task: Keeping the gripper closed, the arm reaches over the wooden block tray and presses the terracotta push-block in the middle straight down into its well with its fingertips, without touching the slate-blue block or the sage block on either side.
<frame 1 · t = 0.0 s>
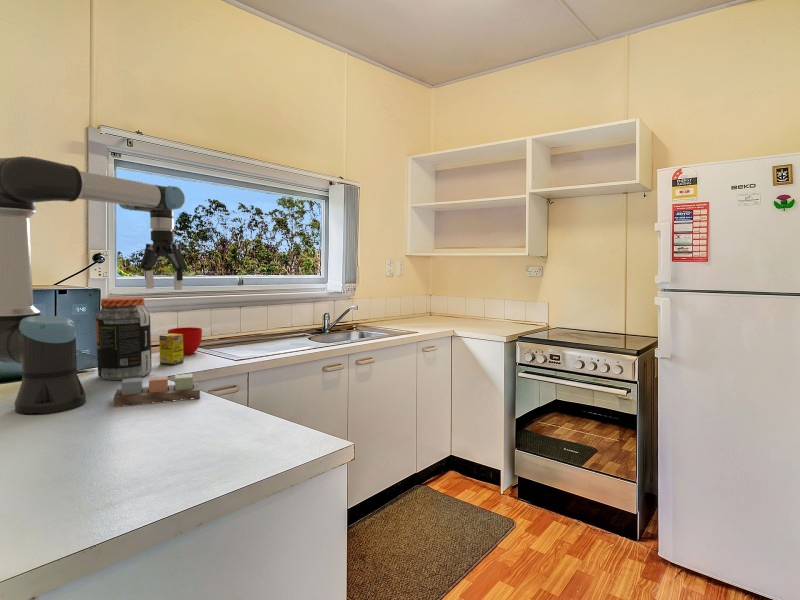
hand: (163, 289, 176), 28 cm above the worktop, fingers open, 13 cm apart
supplement box: (171, 364, 181), on the worktop
sage block: (183, 382, 138), point 4 cm above the worktop, slide at 0.0 cm
ceramic cup: (182, 354, 199), on the worktop
terracotta block: (158, 384, 136), point 4 cm above the worktop, slide at 0.0 cm
supplement tub: (125, 376, 162), on the worktop
slate block: (132, 386, 133), point 4 cm above the worktop, slide at 0.0 cm
wooden block tray: (158, 398, 136), on the worktop
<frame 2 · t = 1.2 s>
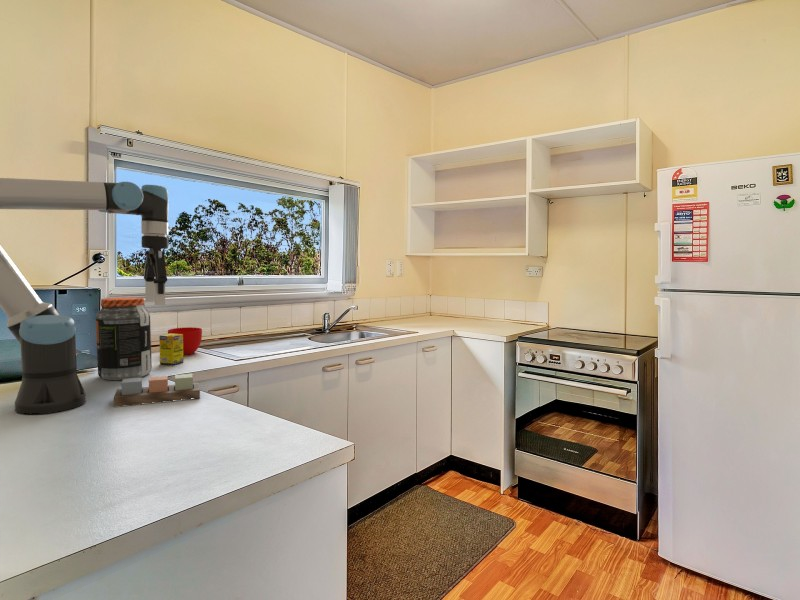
hand: (154, 303, 153), 25 cm above the worktop, fingers open, 13 cm apart
nothing on the worktop moved.
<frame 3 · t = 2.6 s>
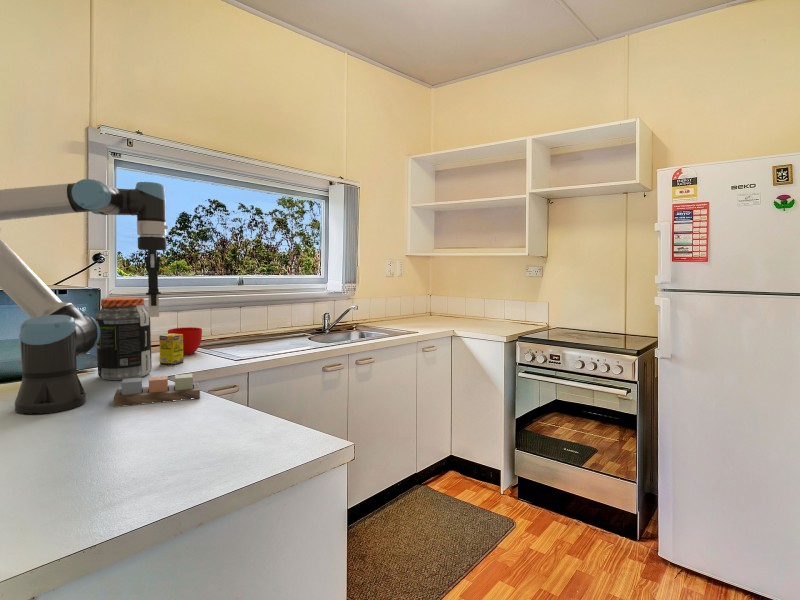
hand: (154, 316, 144), 22 cm above the worktop, fingers closed
nothing on the worktop moved.
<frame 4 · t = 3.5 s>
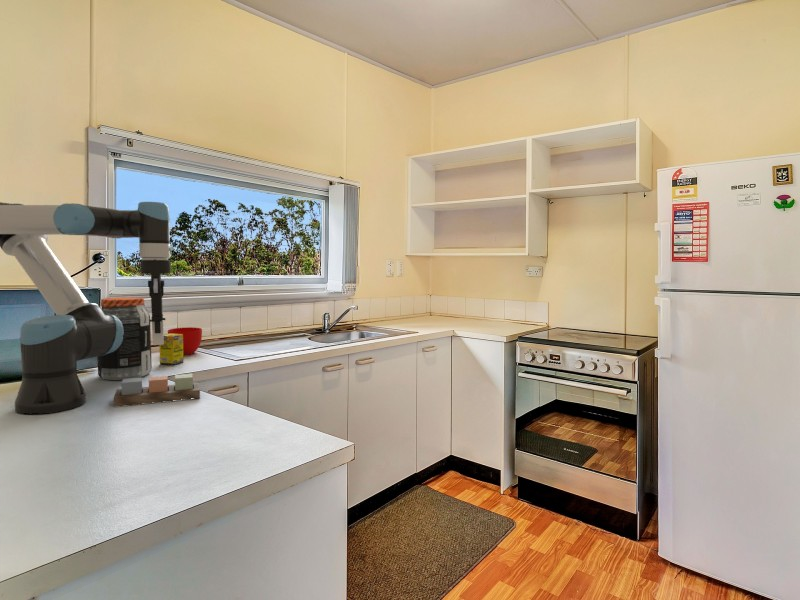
hand: (158, 344, 135), 15 cm above the worktop, fingers closed
nothing on the worktop moved.
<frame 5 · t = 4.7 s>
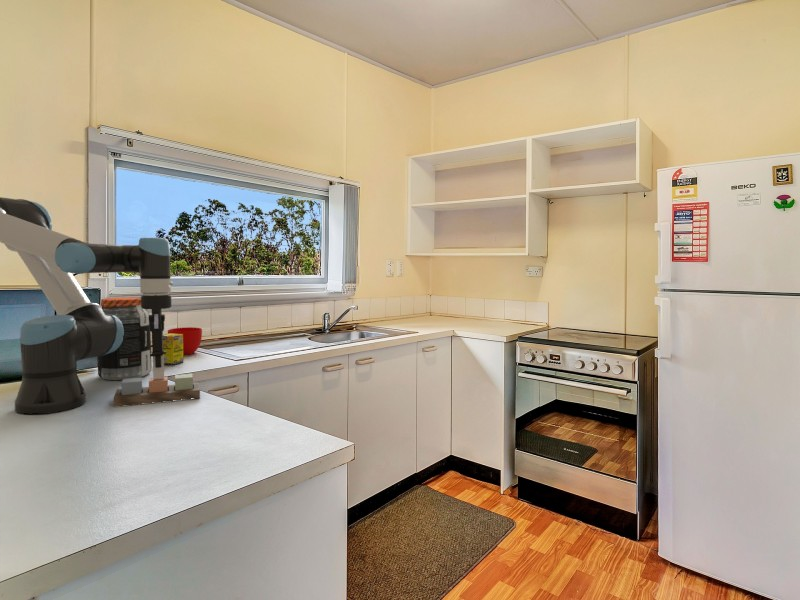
hand: (158, 378, 135), 6 cm above the worktop, fingers closed
terracotta block: (158, 385, 136), point 4 cm above the worktop, slide at 0.3 cm, touching gripper
everything else where it was.
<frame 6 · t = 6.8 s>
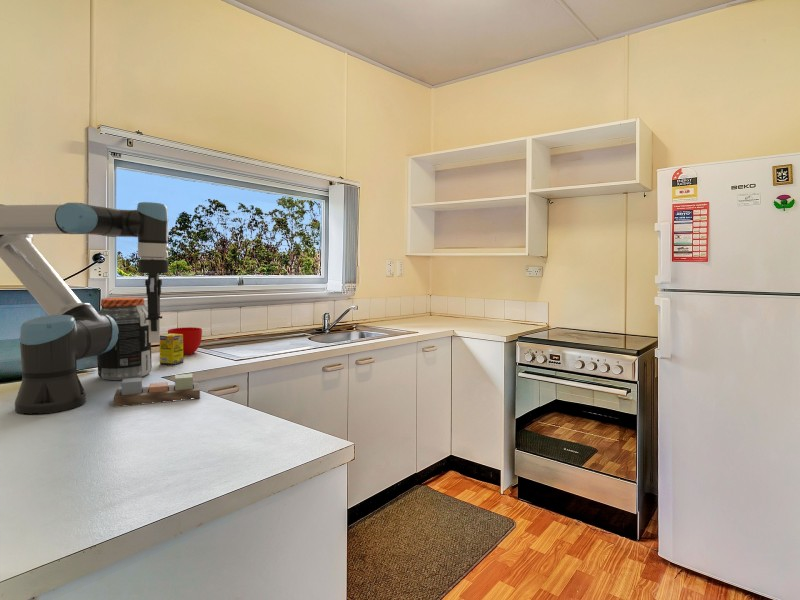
hand: (154, 342, 138), 15 cm above the worktop, fingers closed
terracotta block: (158, 390, 136), point 2 cm above the worktop, slide at 1.9 cm
everything else where it was.
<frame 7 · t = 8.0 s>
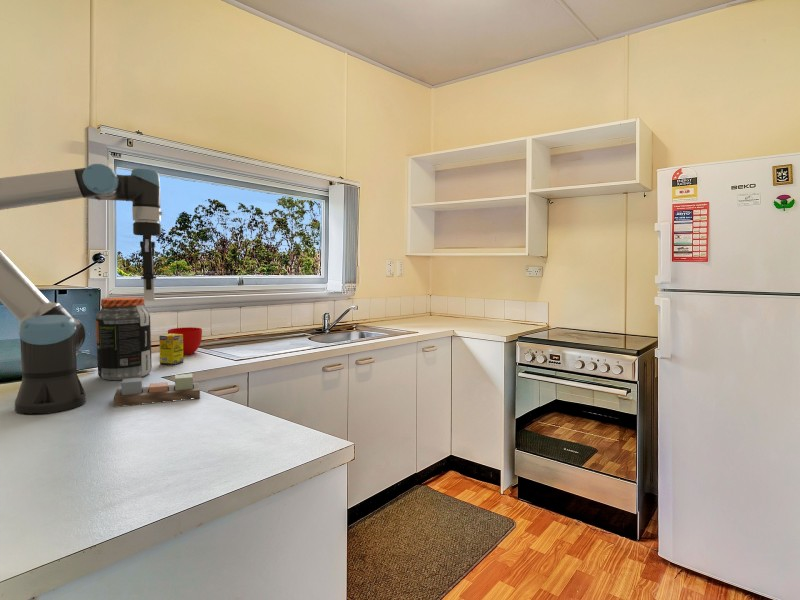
hand: (149, 300, 148), 26 cm above the worktop, fingers closed
nothing on the worktop moved.
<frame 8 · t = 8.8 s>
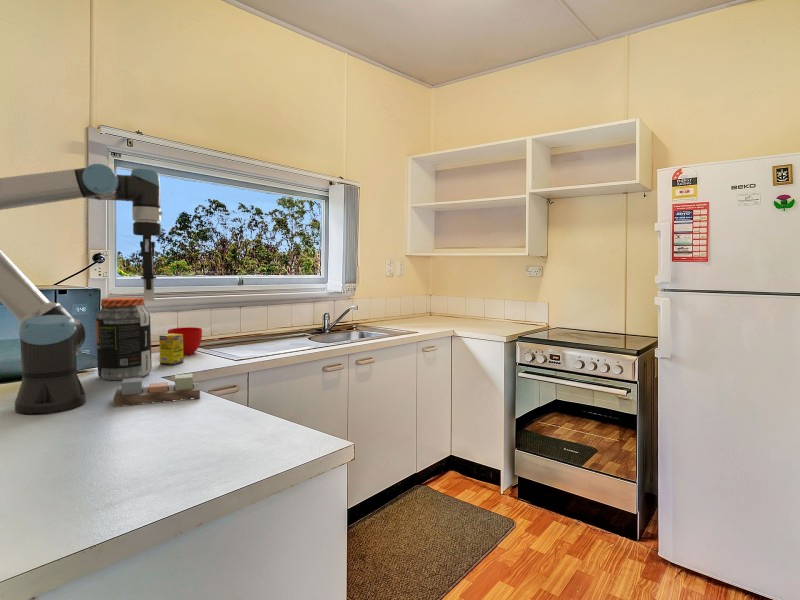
hand: (149, 300, 148), 26 cm above the worktop, fingers closed
nothing on the worktop moved.
at the end: terracotta block slide at 1.9 cm; sage block slide at 0.0 cm; slate block slide at 0.0 cm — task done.
